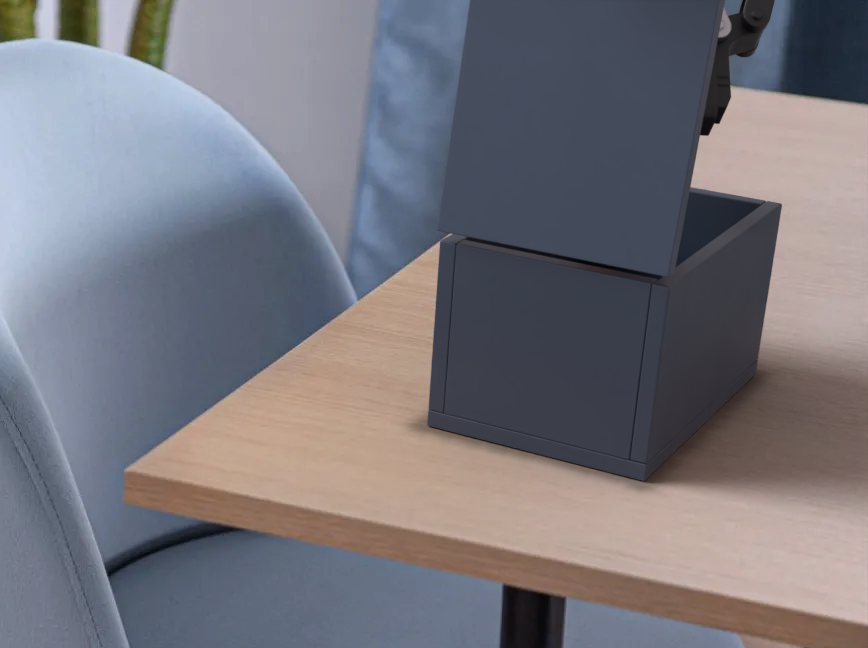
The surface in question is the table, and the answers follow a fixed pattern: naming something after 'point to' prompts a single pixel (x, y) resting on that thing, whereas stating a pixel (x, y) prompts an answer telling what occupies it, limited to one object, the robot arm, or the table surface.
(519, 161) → the lid
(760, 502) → the table surface
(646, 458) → the chest
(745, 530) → the table surface
